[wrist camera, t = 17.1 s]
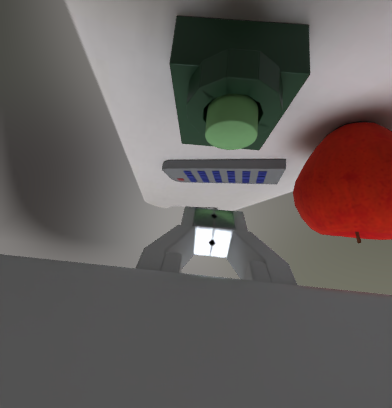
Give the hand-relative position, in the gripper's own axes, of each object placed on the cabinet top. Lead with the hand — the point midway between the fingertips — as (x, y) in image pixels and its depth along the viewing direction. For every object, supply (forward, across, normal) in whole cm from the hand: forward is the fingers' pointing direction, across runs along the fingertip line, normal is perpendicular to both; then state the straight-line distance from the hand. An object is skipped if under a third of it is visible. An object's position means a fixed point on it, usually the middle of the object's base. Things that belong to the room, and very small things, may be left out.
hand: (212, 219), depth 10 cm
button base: (+13, -1, -6) cm, 15 cm away
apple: (+18, -17, -2) cm, 24 cm away
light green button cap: (+7, -1, -4) cm, 8 cm away
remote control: (+28, -3, +8) cm, 29 cm away
